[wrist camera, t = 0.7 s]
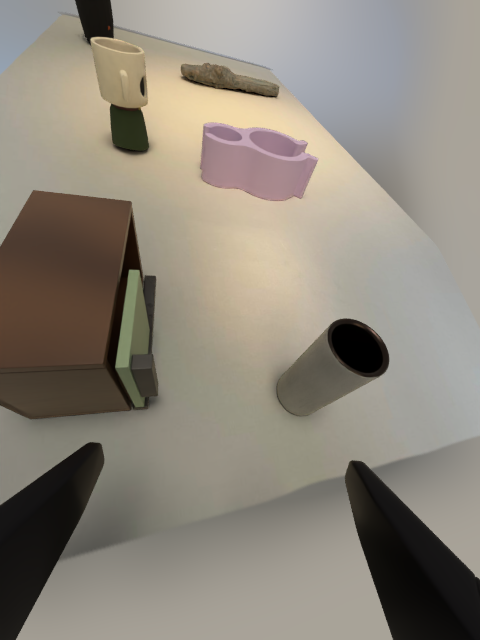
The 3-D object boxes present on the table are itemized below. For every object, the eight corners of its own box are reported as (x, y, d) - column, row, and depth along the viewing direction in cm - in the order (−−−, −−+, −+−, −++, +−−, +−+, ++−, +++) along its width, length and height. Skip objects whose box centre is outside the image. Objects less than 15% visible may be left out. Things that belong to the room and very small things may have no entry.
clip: (203, 191, 42) (207, 146, 36) (199, 157, 49) (202, 114, 43) (306, 204, 47) (323, 167, 42) (289, 172, 54) (302, 136, 48)
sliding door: (159, 405, 21) (151, 366, 14) (135, 407, 20) (114, 367, 13) (162, 329, 25) (156, 270, 18) (142, 329, 24) (129, 269, 17)
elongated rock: (281, 105, 87) (269, 97, 92) (287, 86, 83) (274, 78, 88) (185, 81, 73) (177, 72, 78) (186, 56, 69) (178, 49, 74)
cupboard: (148, 408, 21) (131, 362, 13) (29, 419, 19) (-74, 371, 11) (156, 278, 29) (148, 202, 21) (74, 275, 27) (32, 189, 19)
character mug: (156, 162, 44) (149, 61, 34) (112, 159, 42) (91, 49, 31) (147, 135, 49) (139, 40, 39) (108, 131, 47) (88, 29, 36)
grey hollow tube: (324, 413, 24) (402, 374, 16) (282, 419, 23) (343, 380, 14) (310, 370, 26) (371, 316, 18) (271, 373, 25) (318, 318, 17)
